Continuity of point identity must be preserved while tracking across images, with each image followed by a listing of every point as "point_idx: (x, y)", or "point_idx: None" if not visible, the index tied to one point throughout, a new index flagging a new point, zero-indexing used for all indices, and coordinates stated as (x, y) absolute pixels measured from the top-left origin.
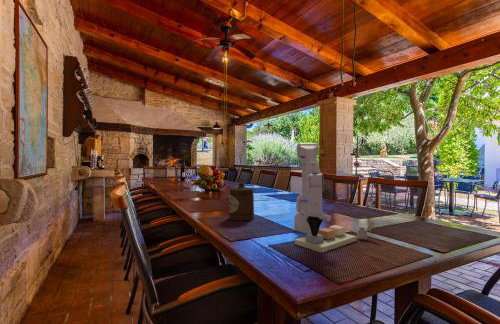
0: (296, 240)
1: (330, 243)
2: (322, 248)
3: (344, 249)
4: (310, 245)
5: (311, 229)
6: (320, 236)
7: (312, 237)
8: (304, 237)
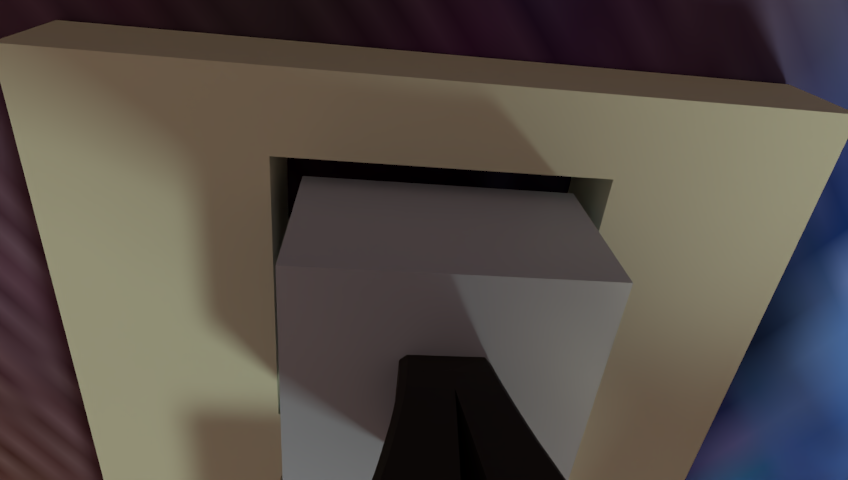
0: (795, 106)
1: (137, 398)
2: (12, 61)
3: (14, 430)
4: (368, 68)
5: (514, 475)
6: (281, 422)
7: (396, 256)
8: (708, 359)
